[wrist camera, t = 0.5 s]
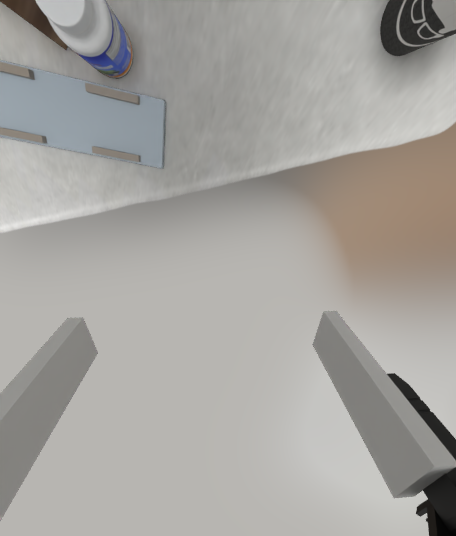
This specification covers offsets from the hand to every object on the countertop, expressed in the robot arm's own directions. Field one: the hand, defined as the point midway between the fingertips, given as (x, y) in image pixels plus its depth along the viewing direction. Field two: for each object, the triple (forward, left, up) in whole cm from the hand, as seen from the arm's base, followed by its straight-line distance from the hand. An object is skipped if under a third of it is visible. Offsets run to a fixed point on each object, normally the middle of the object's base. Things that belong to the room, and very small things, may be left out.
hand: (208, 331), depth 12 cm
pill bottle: (-18, -15, -26) cm, 35 cm away
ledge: (-10, -20, -26) cm, 34 cm away
